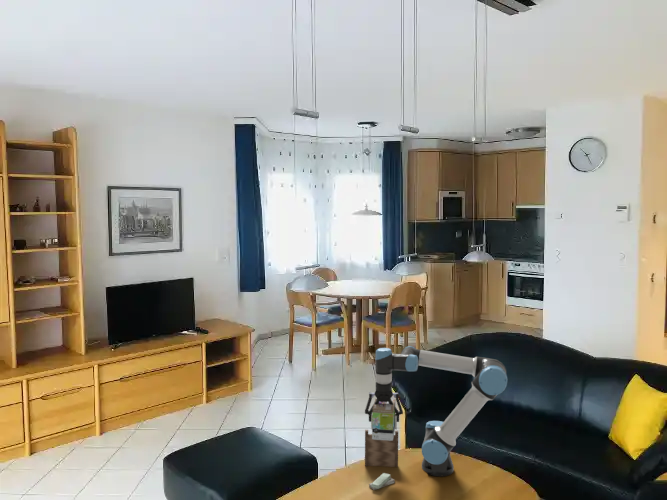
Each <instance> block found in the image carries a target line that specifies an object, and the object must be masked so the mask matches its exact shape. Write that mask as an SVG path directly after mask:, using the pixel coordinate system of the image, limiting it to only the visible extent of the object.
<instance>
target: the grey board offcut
mask: <svg viewBox="0 0 667 500" xmlns="http://www.w3.org/2000/svg"><path fill="white" fill-rule="evenodd" d="M395 482H396V481H395V478H392V476H391V477H390V479H389V480H388V481H387V482H386V483H384V484H383V485H382V486H381V487H380V488H379V489H382V488H385V487H386V486H389V485H393V484H395ZM372 483H373V482H370V483H368V487H369V488H370V489H371V490H373V491H376V490H378V489H377V488H374V487H372Z"/></svg>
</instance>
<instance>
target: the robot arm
mask: <svg viewBox="0 0 667 500" xmlns="http://www.w3.org/2000/svg"><path fill="white" fill-rule="evenodd" d="M374 360H375V362H374V363H375V392H371V391H370V392H368V396H369V397H368V400H367V403H366V405H365V409H364V414H366V415H368V422H370V424H371V425H370V427H371V428H370V429H371V430H372V413H373V405H375V404H378V403H379V402H389V404H390V405H393V402H392V400H391V398H392V397H394V398H395V402H396V403H397V404H396V405H397V407H398V408H397V407H396V405H395V406H394V410H395V431H398V430H397V428H398V427H397V425H398V424H397V423H399V422H400V415H403V414H404V410H403V407H402V404H401V401H400V398H399V397H400V396H399V392H398V391H397V392H393V383H392V382H393V380H392V379H393V378H392V377H393V372H392V371H401V372H417V371H418V368H419V366H421V367H426V368H430V369H432V368H433V369H438V370H444V371H449V372H453V373H454V372H456V373H461V374H467V375H471V376H473V380H472V381H471V388H470V389H469V390H468V391H467V392H466V394H465V395H464V397H463V398H462V399H461V400H460V402H459V403H458V404H457V405H456V406H455V408H454V409H453V410H452V411H451V413H449V415H448V416H447V417H446V418H445V420H444V421H440V420H429V421H428V422H426V423H425V435H424V438H423V439H424V440H423V442H422V445H421V454H422V457H423V459H422V462H421V470H423V471H424V472H425V473H427V475H430V476H433V477H448V476H451V475H452V474H453V473H454V471H455V469H454V464H453V460H452V456H451V451H452V450H453V448H454V447H456V444H457V442H456V440H457V438H459V436H460V435H461V434H462V432H463V431H464V430H465V428H467V427H468V425H469V424H470V423H471V422H472V420H473V419H474V418H475V417H476V415H477V414H478V412H480V411H481V409H482V408H483V407H484V405H485V404H486V403H487V402H488V401H493V400H495V399H496V397H497V396H498V395H500V394H502V393H503V392H504V391H505V390H506V388H507V386H508V381H509V380H508V375H507V368H506V366H505V365H504V364H503V362H501V361H499V360H498V359H494V358H489V357H484V356H483V357H482V356H475V357H469V356H461V355H455V354H449V353H442V352H436V351H430V350H423V349H418V348H415V347H414V346H411V345H408V346H405V347H404V348H403V349H402V350H401V353H393V352H392V349H391V348H389V347H379V348H377V349H376V350H375V359H374ZM374 397H376V398H375V399H376V401H375V400H374V402H375V403H373V404H372V406H371V403H372V399H373V398H374ZM370 406H371V408H370ZM398 409H399V410H398Z"/></svg>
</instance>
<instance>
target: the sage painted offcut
mask: <svg viewBox="0 0 667 500" xmlns="http://www.w3.org/2000/svg"><path fill="white" fill-rule="evenodd" d="M390 477H391V478H392V476H391V474H389V473H386V472H382V474H380V476H378V477H377V478H376V479H375V480H374V481H372V482H371V483H372V487H374V488H377V489H376V490H379V489H381V488H380V487H381V486H382V485H383V484H384V483H386V482H387V481H388V480H389V479H390Z"/></svg>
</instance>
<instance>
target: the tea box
mask: <svg viewBox="0 0 667 500" xmlns="http://www.w3.org/2000/svg"><path fill="white" fill-rule="evenodd" d="M376 399H377V398H375V399H374V403H375V401H376ZM391 400H392V402H393V405H390V404H389V402H379V403H378V404H375V405H373V404H374V403H373V404H372V406H373V413H372V429H371V434H372V439H374V440H388V441H393V438H394V435H395V431H396V430H395V414H396V413H395V410H394V406H395V407H396V399H391Z"/></svg>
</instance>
